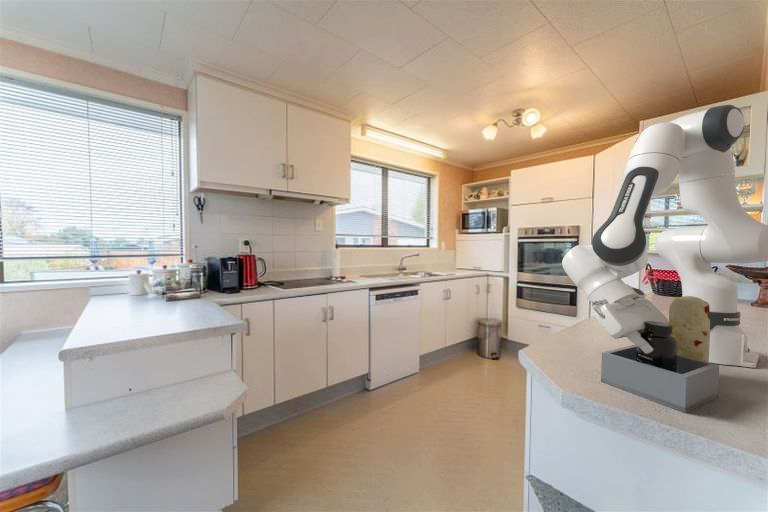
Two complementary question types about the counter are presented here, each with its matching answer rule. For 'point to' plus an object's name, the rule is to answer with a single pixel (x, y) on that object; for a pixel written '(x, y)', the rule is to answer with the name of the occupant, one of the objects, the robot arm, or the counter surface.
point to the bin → (662, 379)
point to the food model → (691, 326)
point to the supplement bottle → (659, 346)
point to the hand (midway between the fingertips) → (661, 349)
